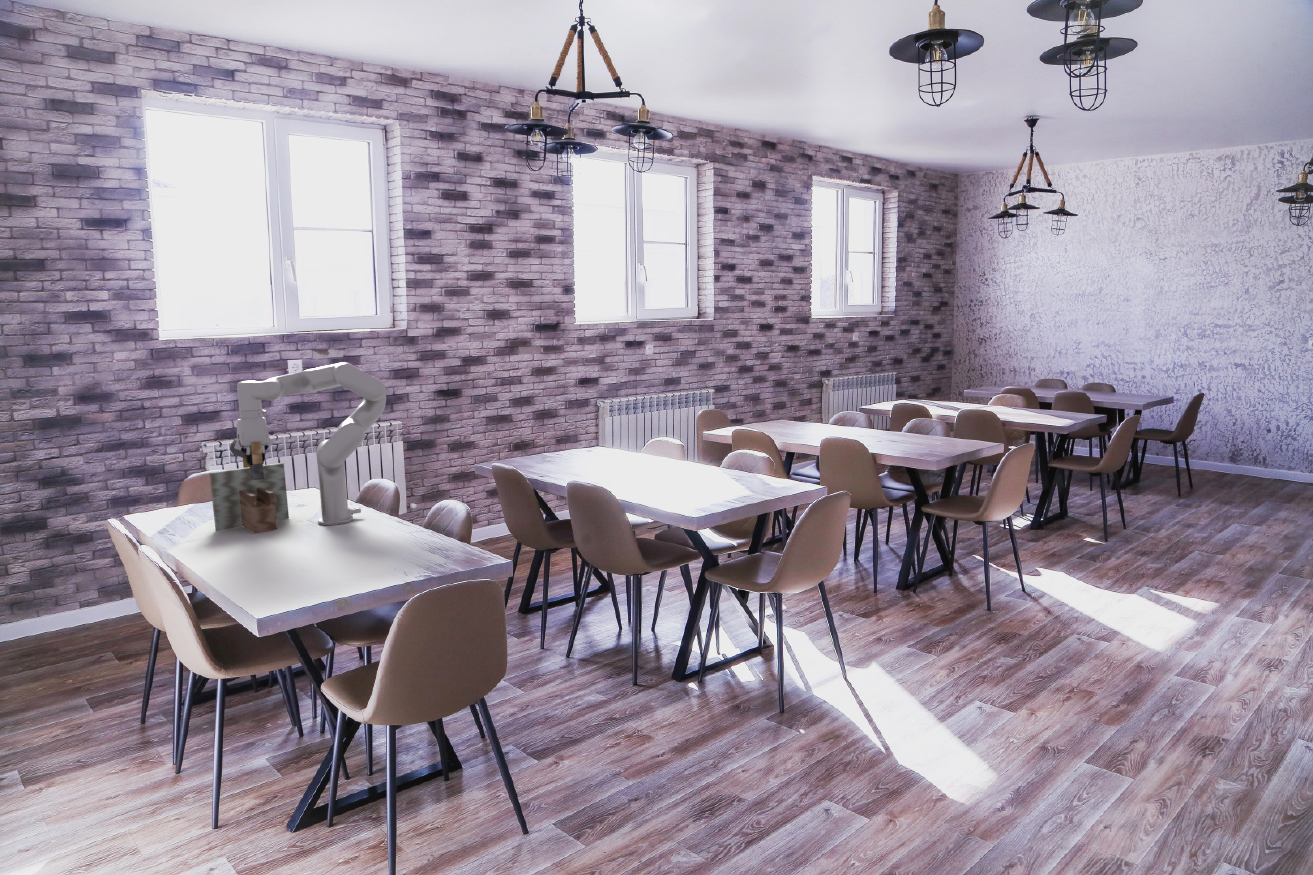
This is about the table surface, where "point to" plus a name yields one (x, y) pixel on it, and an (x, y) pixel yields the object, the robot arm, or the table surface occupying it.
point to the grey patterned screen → (249, 499)
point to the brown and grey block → (256, 461)
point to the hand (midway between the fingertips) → (255, 463)
